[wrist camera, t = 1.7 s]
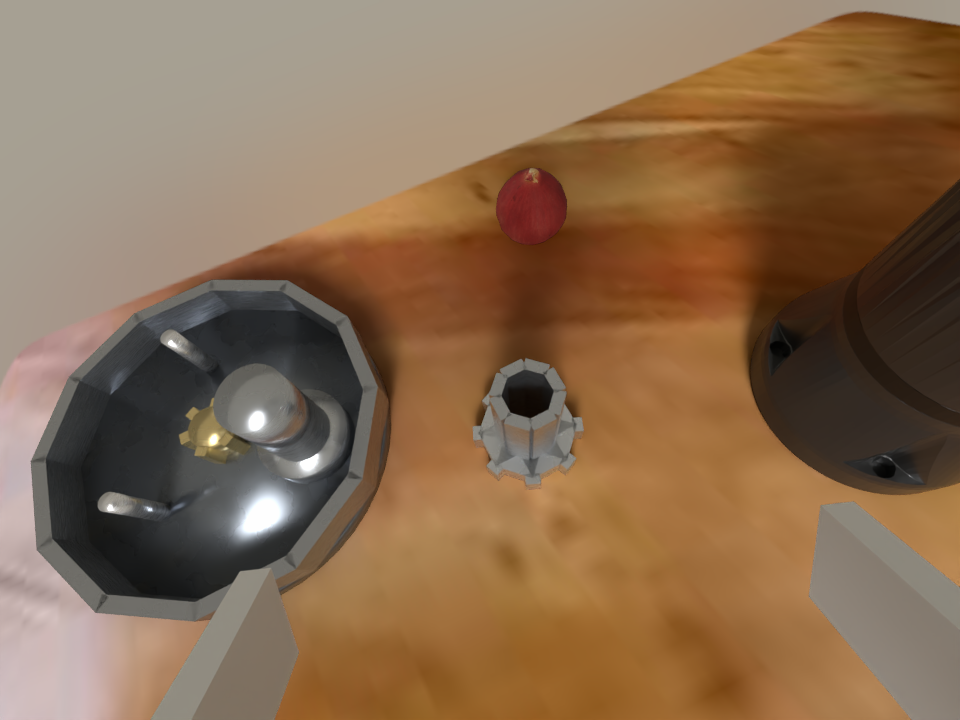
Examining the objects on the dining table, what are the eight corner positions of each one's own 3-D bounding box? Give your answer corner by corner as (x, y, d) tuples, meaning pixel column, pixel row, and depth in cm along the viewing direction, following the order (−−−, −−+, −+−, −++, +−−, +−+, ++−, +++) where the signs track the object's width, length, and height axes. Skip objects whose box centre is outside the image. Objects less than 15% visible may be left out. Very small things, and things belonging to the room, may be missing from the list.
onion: (491, 220, 45) (485, 150, 38) (552, 205, 45) (557, 132, 38) (508, 270, 42) (504, 206, 35) (572, 254, 42) (581, 186, 35)
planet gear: (546, 373, 38) (552, 315, 30) (598, 458, 35) (620, 419, 27) (460, 416, 37) (441, 369, 29) (505, 506, 34) (498, 482, 26)
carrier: (333, 266, 44) (280, 179, 35) (440, 512, 34) (407, 484, 25) (72, 382, 41) (-64, 323, 32) (107, 685, 32) (-74, 728, 22)
